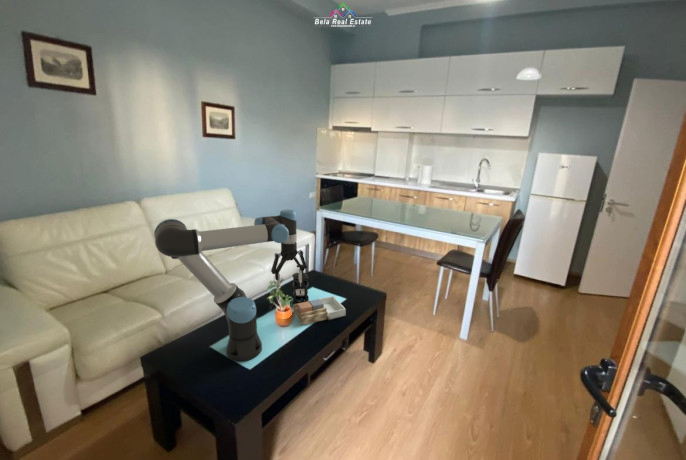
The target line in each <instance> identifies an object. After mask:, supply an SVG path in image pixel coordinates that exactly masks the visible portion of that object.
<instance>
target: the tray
mask: <svg viewBox="0 0 686 460" xmlns="http://www.w3.org/2000/svg"><path fill="white" fill-rule="evenodd" d="M319 299H320V300H321V301H322V302H323V304H324V308H327V309H326V311H327V312H328V319H327V320H328V321H331V320H335V319H338V318H342V317H346V316H347V308H345V307H344V305H342V303H341V302H340V301H339V300H338V299H336V297H335V296H334V295H331V296H326V297H322V298H319Z"/></svg>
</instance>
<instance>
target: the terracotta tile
mask: <svg viewBox="0 0 686 460" xmlns="http://www.w3.org/2000/svg"><path fill="white" fill-rule="evenodd" d="M298 310H299V311H300V313H304V312H309V311H312V305H311V304H310V303H309V302H308V301H307V302H303V303H298Z"/></svg>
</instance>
